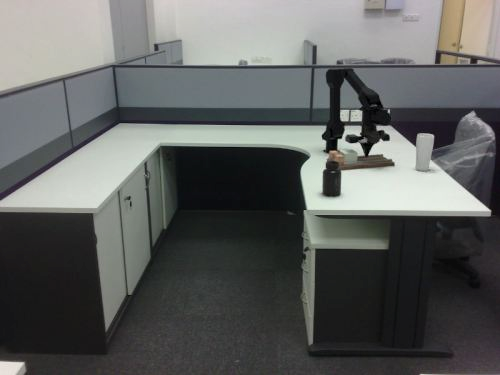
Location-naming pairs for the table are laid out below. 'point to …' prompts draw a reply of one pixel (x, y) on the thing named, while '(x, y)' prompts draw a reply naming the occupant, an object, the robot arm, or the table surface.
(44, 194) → the table surface
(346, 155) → the block
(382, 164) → the track
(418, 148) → the drinking glass
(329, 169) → the supplement bottle
